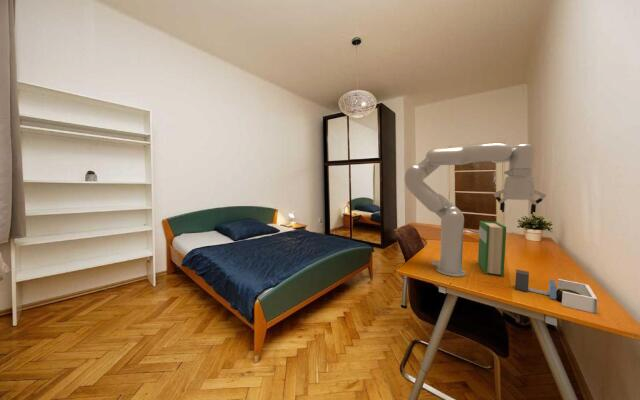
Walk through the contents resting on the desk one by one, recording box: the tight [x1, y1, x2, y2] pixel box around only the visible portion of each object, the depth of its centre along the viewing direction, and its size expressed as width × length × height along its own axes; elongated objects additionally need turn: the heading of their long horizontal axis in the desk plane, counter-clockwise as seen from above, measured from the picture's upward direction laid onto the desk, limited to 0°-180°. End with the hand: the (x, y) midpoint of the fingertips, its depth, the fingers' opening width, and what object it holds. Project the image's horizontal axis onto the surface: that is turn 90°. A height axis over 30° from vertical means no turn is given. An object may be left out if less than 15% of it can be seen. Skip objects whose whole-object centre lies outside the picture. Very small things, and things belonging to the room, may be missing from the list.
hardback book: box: [477, 220, 507, 277], centre depth 118 cm, size 18×7×24 cm, turn 155°
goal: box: [557, 278, 599, 315], centre depth 86 cm, size 8×16×5 cm, turn 138°
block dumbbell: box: [514, 269, 558, 300], centre depth 94 cm, size 12×8×7 cm
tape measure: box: [556, 288, 581, 302], centre depth 86 cm, size 7×7×4 cm
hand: (516, 212), depth 101 cm, fingers open, 9 cm apart
